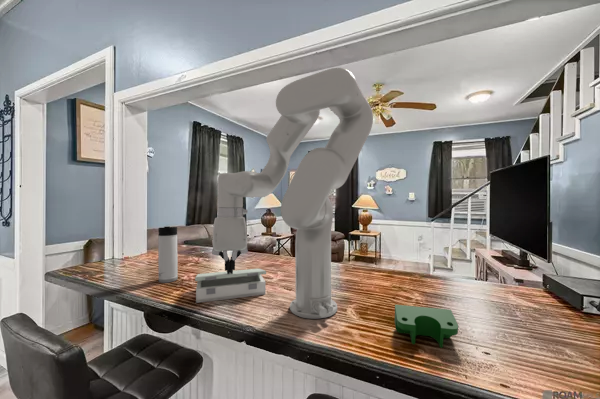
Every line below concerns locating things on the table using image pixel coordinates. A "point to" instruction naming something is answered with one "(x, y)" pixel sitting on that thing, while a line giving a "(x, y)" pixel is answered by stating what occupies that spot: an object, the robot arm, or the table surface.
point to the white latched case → (230, 288)
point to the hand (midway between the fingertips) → (229, 272)
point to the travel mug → (167, 254)
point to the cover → (224, 274)
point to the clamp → (425, 322)
